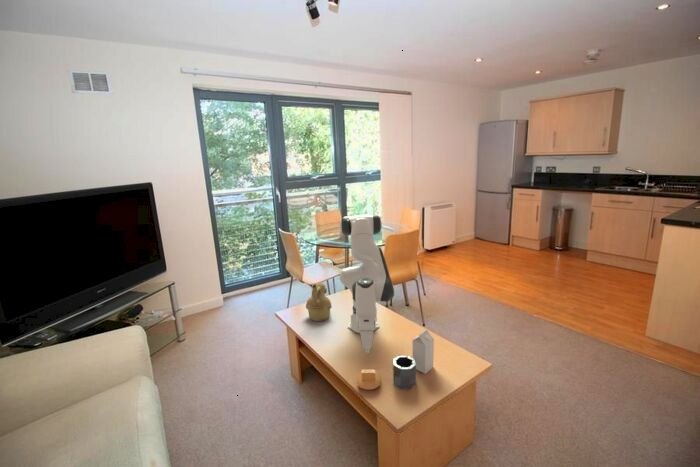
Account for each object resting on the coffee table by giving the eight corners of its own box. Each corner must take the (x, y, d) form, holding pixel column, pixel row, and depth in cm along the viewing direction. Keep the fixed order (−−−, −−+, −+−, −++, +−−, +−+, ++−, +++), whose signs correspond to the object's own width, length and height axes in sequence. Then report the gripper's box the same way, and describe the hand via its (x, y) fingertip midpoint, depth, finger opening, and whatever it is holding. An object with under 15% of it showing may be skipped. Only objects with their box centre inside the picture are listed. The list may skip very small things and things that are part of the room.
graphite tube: (392, 374, 148) (392, 355, 145) (413, 374, 147) (413, 355, 145) (394, 389, 138) (394, 369, 136) (416, 389, 137) (416, 369, 135)
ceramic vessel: (334, 310, 214) (332, 275, 208) (328, 325, 195) (326, 287, 190) (310, 309, 217) (307, 275, 211) (302, 324, 198) (299, 286, 192)
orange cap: (357, 376, 147) (356, 363, 146) (380, 376, 147) (380, 363, 145) (356, 393, 137) (355, 379, 135) (381, 393, 136) (381, 379, 134)
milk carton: (412, 367, 152) (412, 332, 147) (420, 361, 157) (421, 326, 152) (425, 374, 147) (425, 337, 142) (433, 367, 152) (434, 331, 147)
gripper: (359, 305, 145) (360, 333, 147) (358, 328, 125) (359, 359, 128) (373, 305, 144) (374, 333, 147) (374, 328, 124) (375, 359, 127)
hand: (367, 345), depth 137 cm, fingers open, 8 cm apart
